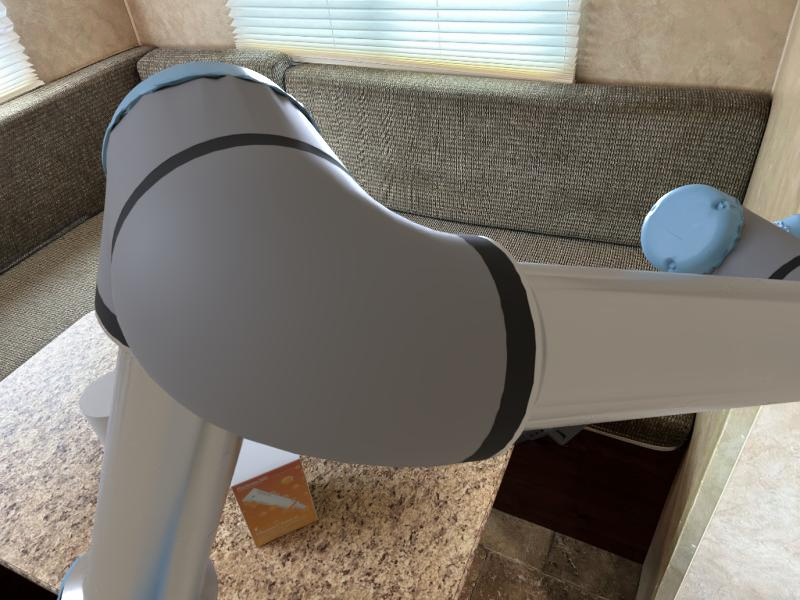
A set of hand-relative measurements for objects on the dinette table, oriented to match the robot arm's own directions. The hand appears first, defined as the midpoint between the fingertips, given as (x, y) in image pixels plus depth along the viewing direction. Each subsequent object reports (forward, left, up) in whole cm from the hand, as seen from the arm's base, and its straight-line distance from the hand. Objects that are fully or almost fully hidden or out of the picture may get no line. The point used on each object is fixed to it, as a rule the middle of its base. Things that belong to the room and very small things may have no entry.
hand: (515, 393), depth 76 cm
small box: (-31, -8, -10) cm, 33 cm away
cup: (-52, +4, -10) cm, 53 cm away
